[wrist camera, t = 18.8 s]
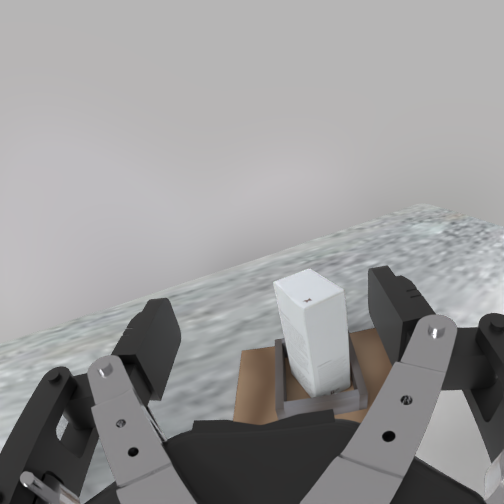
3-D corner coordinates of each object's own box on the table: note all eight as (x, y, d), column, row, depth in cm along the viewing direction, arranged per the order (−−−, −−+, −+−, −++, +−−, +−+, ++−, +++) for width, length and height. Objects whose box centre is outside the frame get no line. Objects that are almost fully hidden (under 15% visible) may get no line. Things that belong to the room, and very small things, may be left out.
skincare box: (352, 387, 29) (347, 289, 25) (316, 406, 28) (302, 310, 23) (322, 357, 34) (310, 266, 30) (290, 373, 33) (270, 281, 29)
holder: (233, 446, 26) (223, 427, 25) (243, 357, 39) (237, 336, 38) (415, 416, 24) (420, 393, 23) (380, 333, 37) (380, 311, 36)
